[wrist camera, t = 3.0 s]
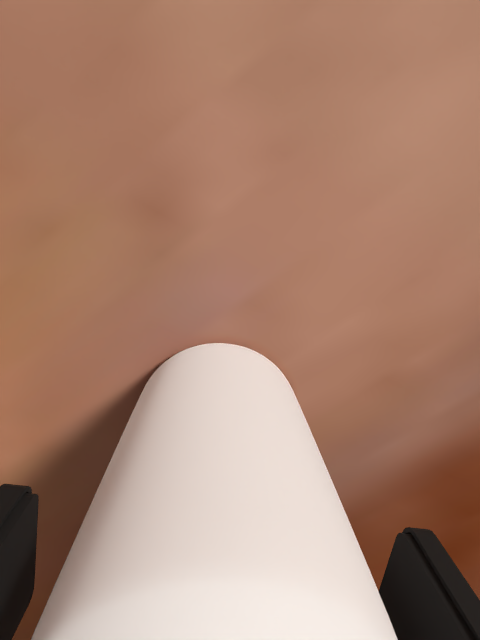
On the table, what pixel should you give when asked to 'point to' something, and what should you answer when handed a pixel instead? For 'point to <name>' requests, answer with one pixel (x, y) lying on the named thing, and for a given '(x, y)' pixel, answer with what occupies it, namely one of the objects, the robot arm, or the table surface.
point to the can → (216, 520)
